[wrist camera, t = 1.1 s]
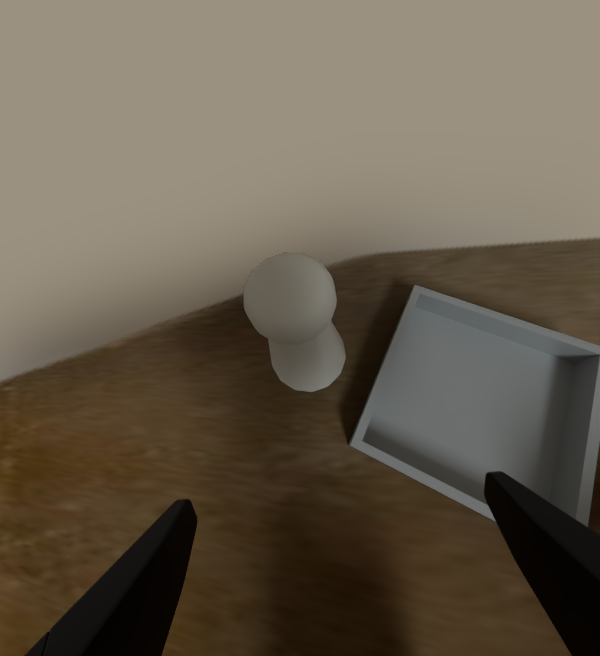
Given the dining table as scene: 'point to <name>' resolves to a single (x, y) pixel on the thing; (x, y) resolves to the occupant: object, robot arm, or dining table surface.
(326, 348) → the salt shaker
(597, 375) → the tray
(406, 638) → the dining table surface
